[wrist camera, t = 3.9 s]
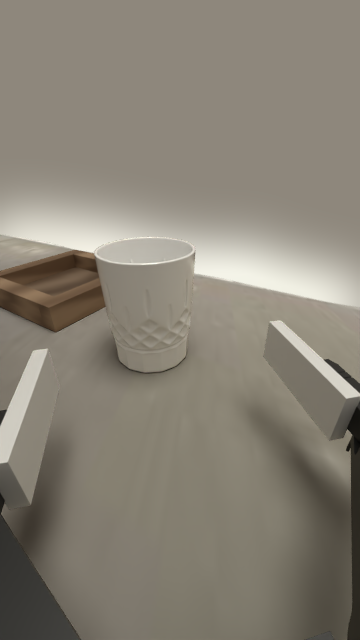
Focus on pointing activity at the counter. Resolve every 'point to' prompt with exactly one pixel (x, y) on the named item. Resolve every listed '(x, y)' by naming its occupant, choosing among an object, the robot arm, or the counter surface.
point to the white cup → (148, 299)
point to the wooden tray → (53, 289)
